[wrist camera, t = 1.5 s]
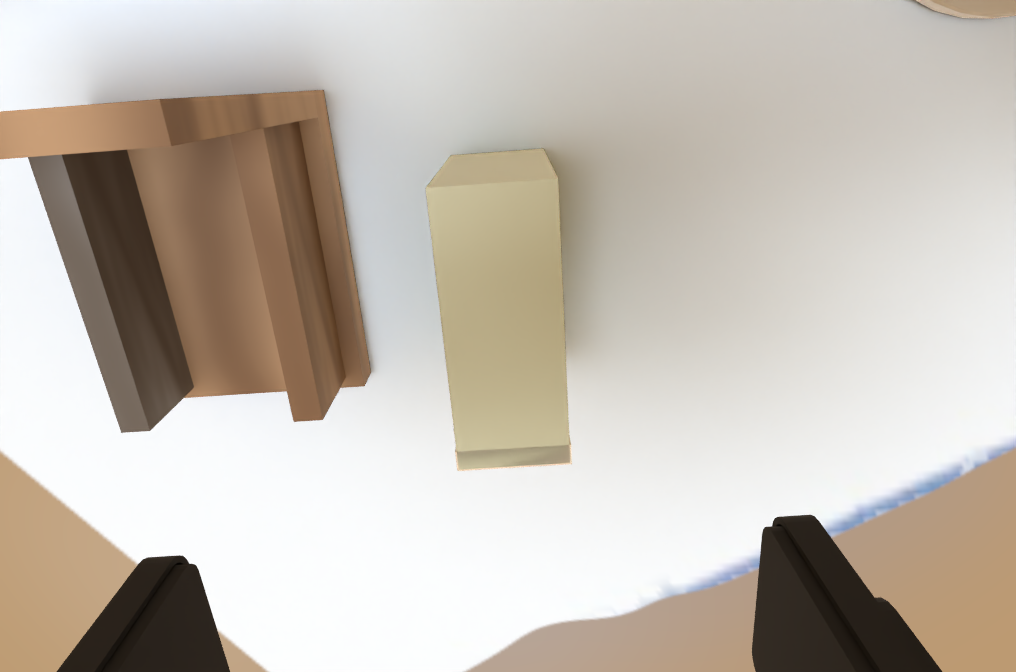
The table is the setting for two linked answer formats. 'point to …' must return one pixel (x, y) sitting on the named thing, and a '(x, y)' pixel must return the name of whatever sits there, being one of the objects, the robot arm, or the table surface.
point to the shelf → (202, 246)
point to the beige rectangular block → (502, 307)
